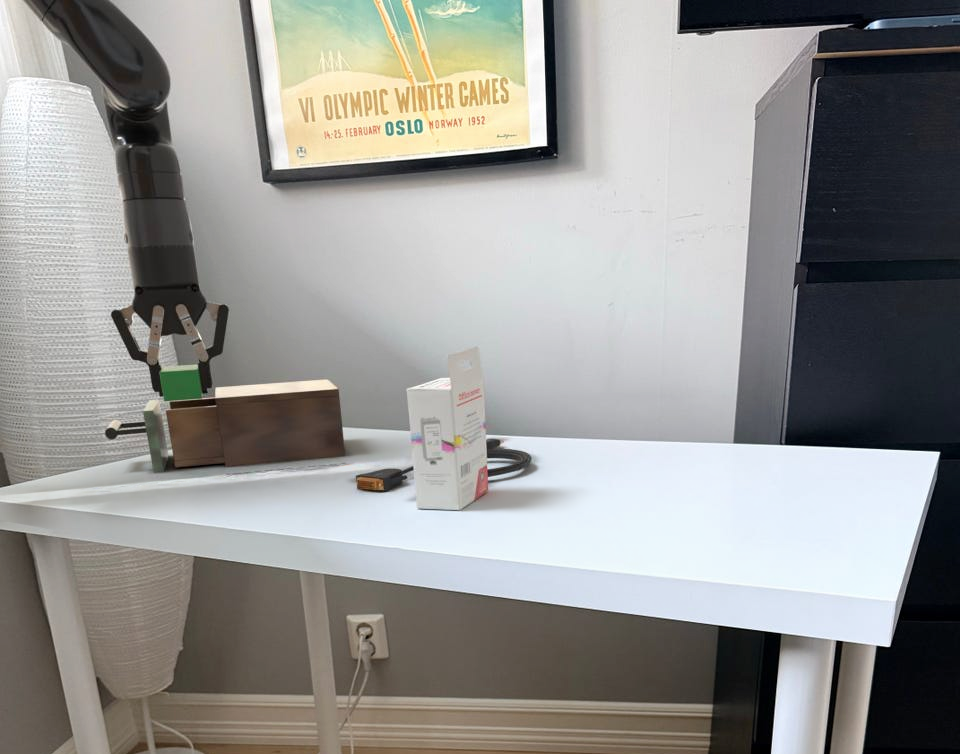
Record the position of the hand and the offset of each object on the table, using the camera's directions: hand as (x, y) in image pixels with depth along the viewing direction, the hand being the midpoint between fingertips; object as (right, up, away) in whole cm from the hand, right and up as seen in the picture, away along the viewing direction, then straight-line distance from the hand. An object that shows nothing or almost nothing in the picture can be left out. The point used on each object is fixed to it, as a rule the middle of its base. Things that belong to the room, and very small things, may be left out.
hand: (183, 393), depth 114 cm
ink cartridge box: (+34, -16, -20) cm, 42 cm away
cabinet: (+11, -7, +6) cm, 14 cm away
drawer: (0, -8, +3) cm, 8 cm away
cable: (+36, -11, -6) cm, 38 cm away
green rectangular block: (0, 0, 0) cm, 0 cm away
